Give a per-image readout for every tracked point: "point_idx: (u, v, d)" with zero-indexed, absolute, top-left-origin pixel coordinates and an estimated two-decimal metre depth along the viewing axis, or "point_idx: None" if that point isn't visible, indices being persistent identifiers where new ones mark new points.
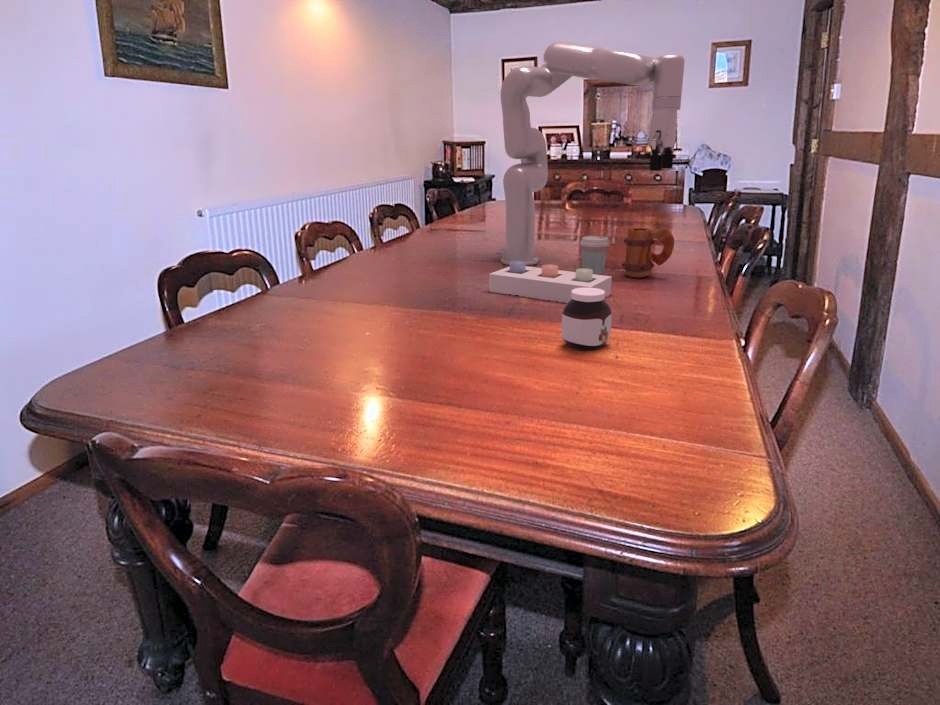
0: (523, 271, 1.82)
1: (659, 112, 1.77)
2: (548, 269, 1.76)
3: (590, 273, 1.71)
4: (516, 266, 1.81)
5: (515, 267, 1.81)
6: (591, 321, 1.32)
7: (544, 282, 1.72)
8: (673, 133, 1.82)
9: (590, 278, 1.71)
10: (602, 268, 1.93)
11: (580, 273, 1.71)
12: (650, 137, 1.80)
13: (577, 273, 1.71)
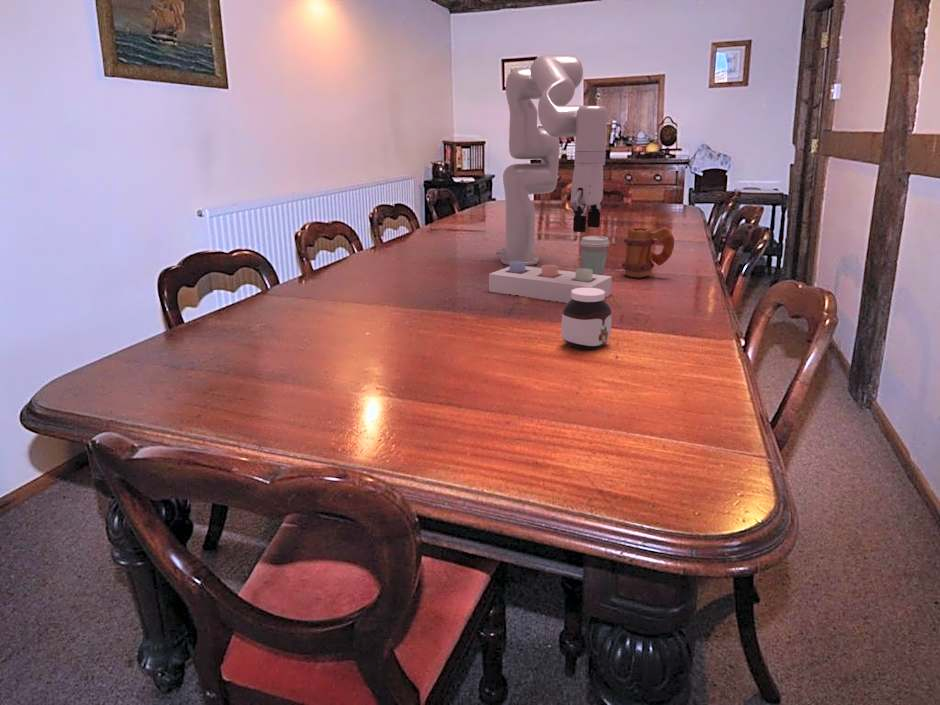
0: (523, 271, 1.82)
1: (580, 167, 1.60)
2: (548, 269, 1.76)
3: (590, 273, 1.71)
4: (516, 266, 1.81)
5: (515, 267, 1.81)
6: (591, 321, 1.32)
7: (544, 282, 1.72)
8: (598, 190, 1.65)
9: (590, 278, 1.71)
10: (602, 268, 1.93)
11: (580, 273, 1.71)
12: (572, 195, 1.63)
13: (577, 273, 1.71)
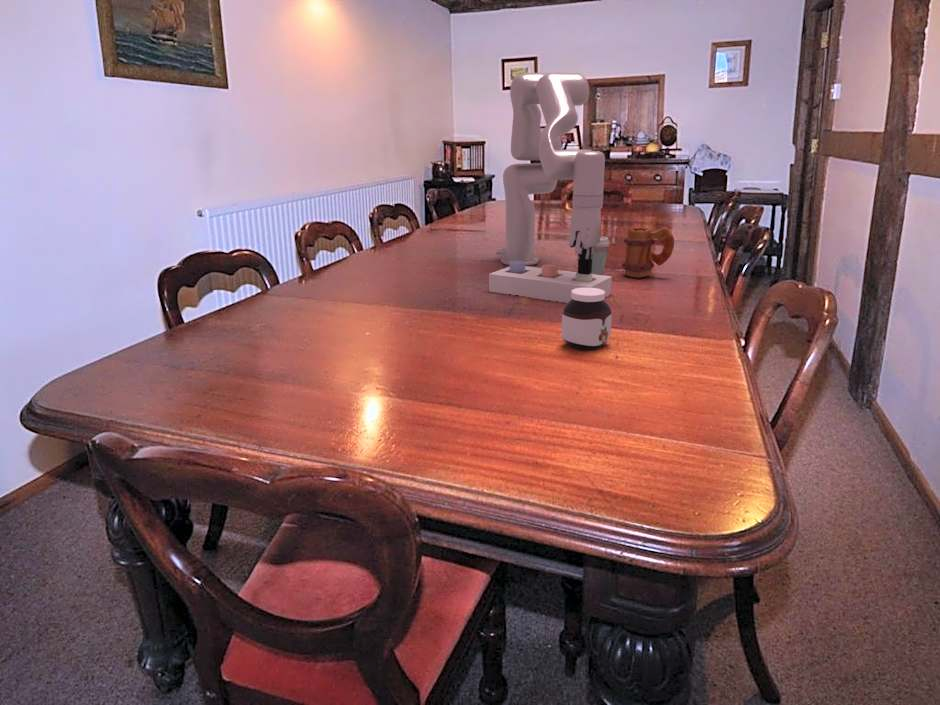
0: (523, 271, 1.82)
1: (578, 211, 1.64)
2: (548, 269, 1.76)
3: (590, 276, 1.71)
4: (516, 266, 1.81)
5: (515, 267, 1.81)
6: (591, 321, 1.32)
7: (544, 282, 1.72)
8: (596, 232, 1.68)
9: (590, 281, 1.72)
10: (602, 268, 1.93)
11: (580, 276, 1.71)
12: (570, 237, 1.66)
13: (577, 276, 1.72)
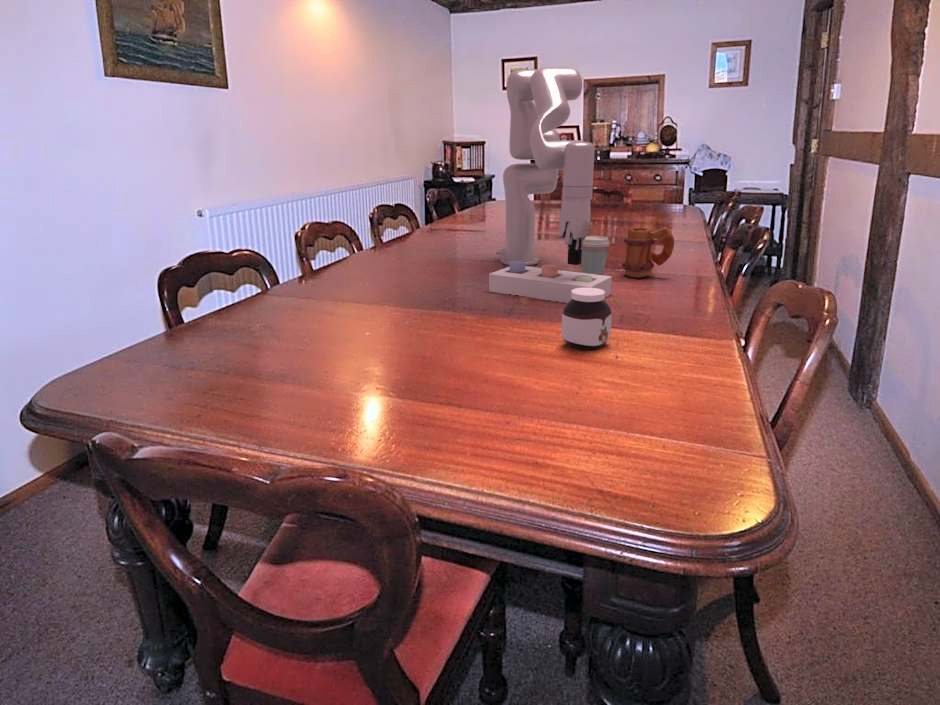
0: (523, 271, 1.82)
1: (568, 202, 1.64)
2: (548, 269, 1.76)
3: (590, 280, 1.71)
4: (516, 266, 1.81)
5: (515, 267, 1.81)
6: (591, 321, 1.32)
7: (544, 282, 1.72)
8: (586, 223, 1.69)
9: None
10: (602, 268, 1.93)
11: (580, 280, 1.71)
12: (560, 228, 1.67)
13: (577, 280, 1.72)
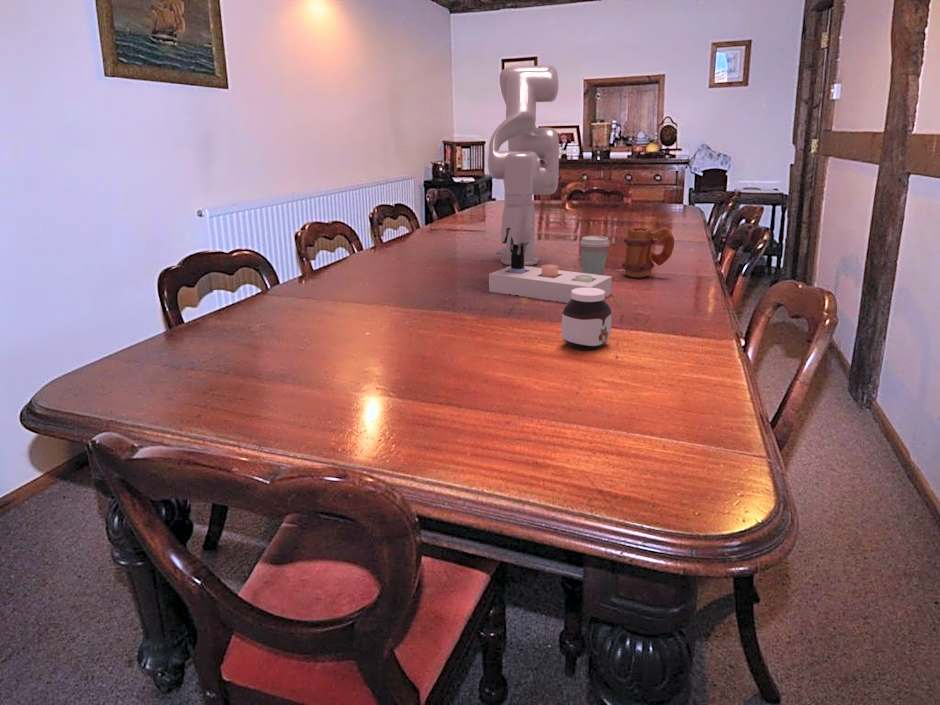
0: None
1: (508, 209, 1.74)
2: (548, 269, 1.76)
3: (590, 280, 1.71)
4: (516, 272, 1.81)
5: None
6: (591, 321, 1.32)
7: (544, 282, 1.72)
8: (527, 229, 1.79)
9: None
10: (602, 268, 1.93)
11: (580, 280, 1.71)
12: (502, 234, 1.77)
13: (577, 280, 1.72)
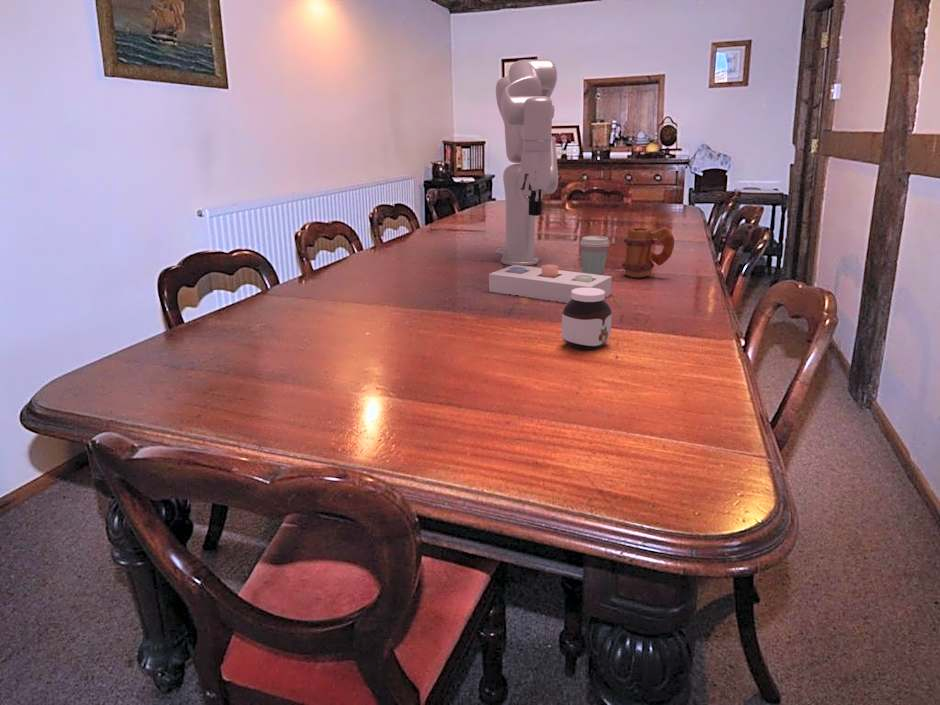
0: None
1: (527, 155, 1.75)
2: (548, 269, 1.76)
3: (590, 280, 1.71)
4: None
5: None
6: (591, 321, 1.32)
7: (544, 282, 1.72)
8: (545, 175, 1.79)
9: None
10: (602, 268, 1.93)
11: (580, 280, 1.71)
12: (520, 180, 1.78)
13: (577, 280, 1.72)
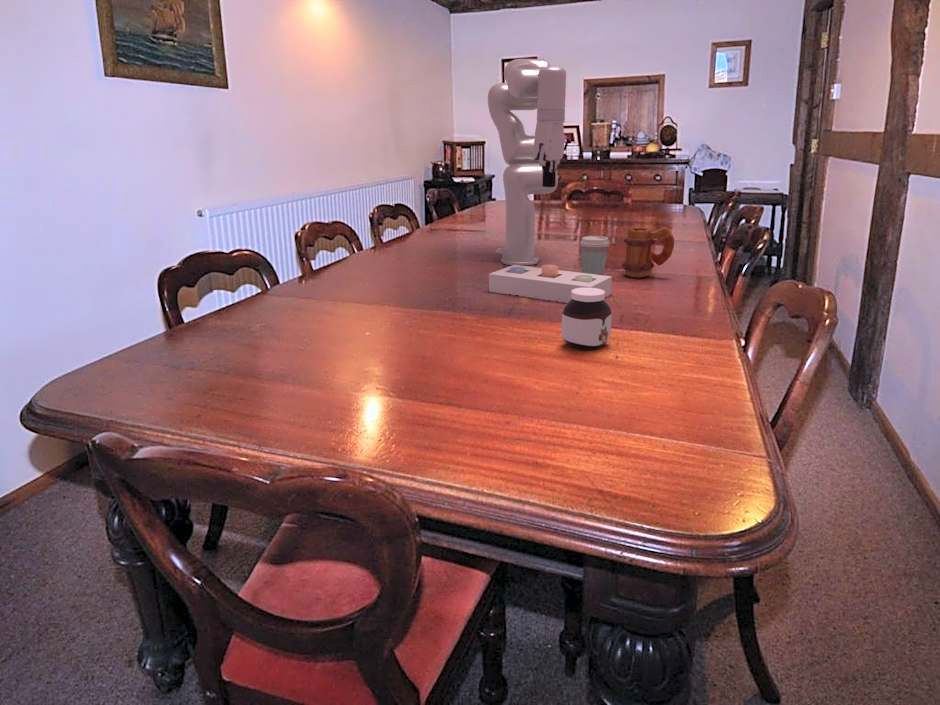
0: None
1: (541, 124, 1.75)
2: (548, 269, 1.76)
3: (590, 280, 1.71)
4: None
5: None
6: (591, 321, 1.32)
7: (544, 282, 1.72)
8: (559, 146, 1.80)
9: None
10: (602, 268, 1.93)
11: (580, 280, 1.71)
12: (534, 150, 1.78)
13: (577, 280, 1.72)
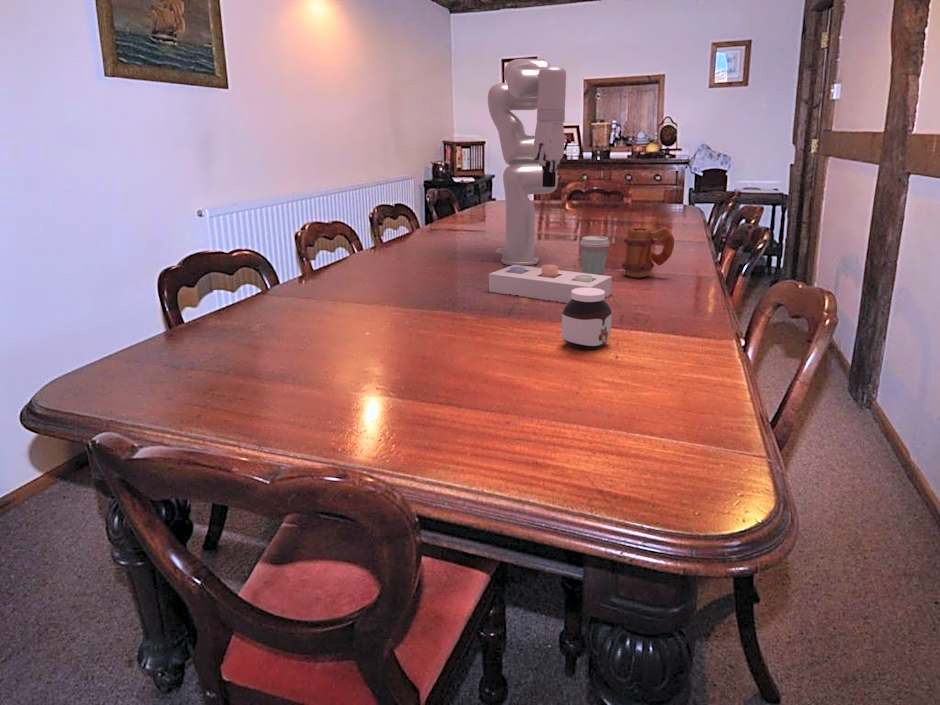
0: None
1: (541, 124, 1.75)
2: (548, 269, 1.76)
3: (590, 280, 1.71)
4: None
5: None
6: (591, 321, 1.32)
7: (544, 282, 1.72)
8: (559, 146, 1.80)
9: None
10: (602, 268, 1.93)
11: (580, 280, 1.71)
12: (534, 150, 1.78)
13: (577, 280, 1.72)
